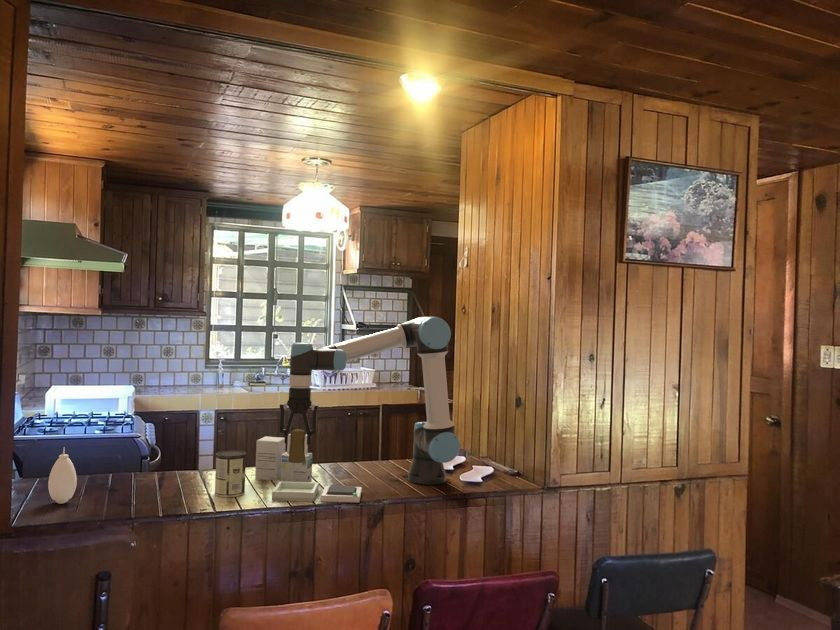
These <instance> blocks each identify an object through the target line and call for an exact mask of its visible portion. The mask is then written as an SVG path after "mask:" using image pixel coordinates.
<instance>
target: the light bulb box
mask: <svg viewBox="0 0 840 630" xmlns="http://www.w3.org/2000/svg"><path fill="white" fill-rule="evenodd" d="M288 459H289V454H287V451H285V453H284V454H282V455H281V473H280V479H279V482H280V481H282V482H312V481H313V475H312V474H313V452H307V454H305V459H306V462H303V463H291V462H288Z"/></svg>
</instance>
